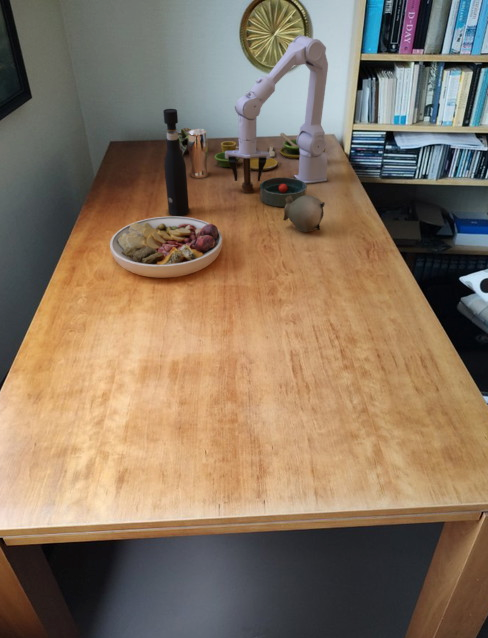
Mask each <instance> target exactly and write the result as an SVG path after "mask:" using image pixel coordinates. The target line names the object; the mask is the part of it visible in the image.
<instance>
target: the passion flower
mask: <svg viewBox="0 0 488 638" xmlns="http://www.w3.org/2000/svg"><path fill="white" fill-rule="evenodd" d="M189 130H193V129H191V128H188V127H184V128H181V129H180V130H178V131H177V133H178V138H179V144H180V149H181V152H182V155H183V156H184V154H185V152H186V151H187V150H188V131H189Z"/></svg>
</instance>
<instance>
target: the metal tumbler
mask: <svg viewBox="0 0 488 638" xmlns="http://www.w3.org/2000/svg"><path fill="white" fill-rule="evenodd" d="M208 149H209V143H208V133H207V130H206V129H203V128H194V129H192V130H189V131H188V148H187V150H188V154H189V159H190V164H191V172H190V176H191V177H192V178H195V179H203V178H206V177H208V176H209V172H208V166H207V161H208V160H207V159H208V151H209V150H208Z"/></svg>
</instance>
